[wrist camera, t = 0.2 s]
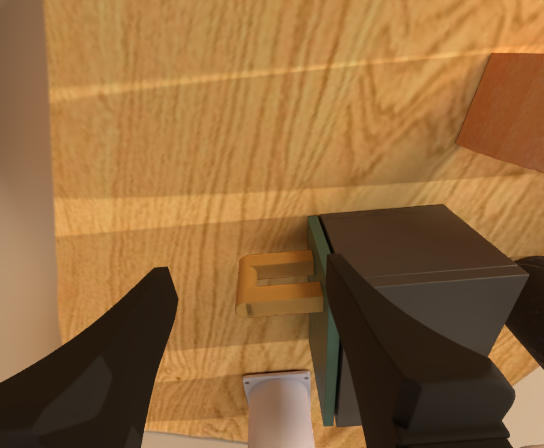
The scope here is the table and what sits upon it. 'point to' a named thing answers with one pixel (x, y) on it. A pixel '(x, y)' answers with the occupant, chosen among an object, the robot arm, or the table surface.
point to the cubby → (425, 278)
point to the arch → (508, 111)
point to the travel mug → (530, 309)
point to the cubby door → (297, 304)
